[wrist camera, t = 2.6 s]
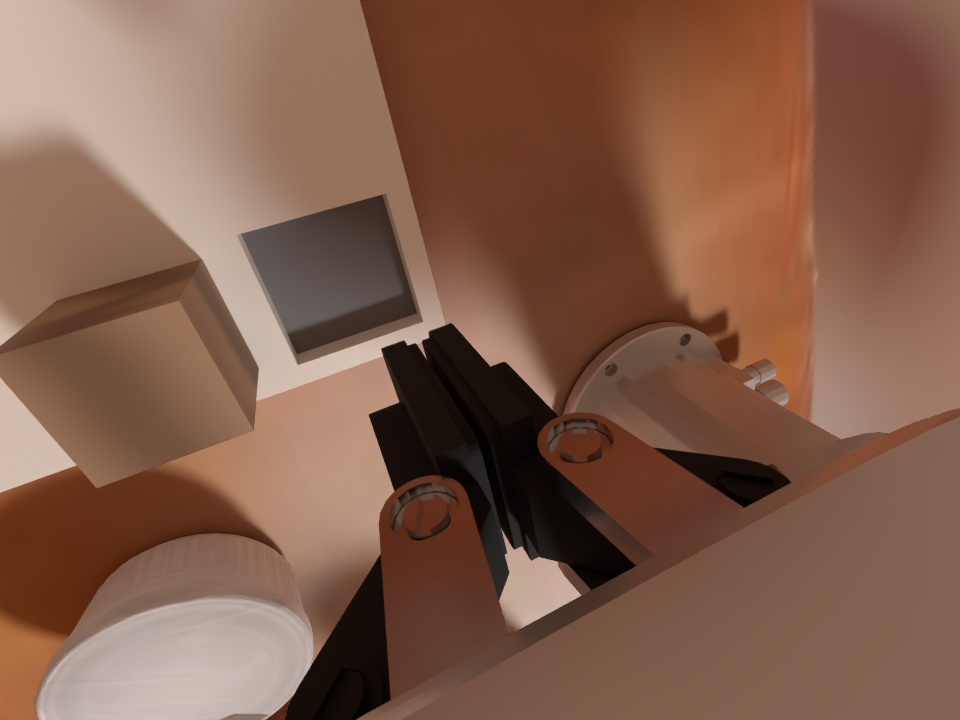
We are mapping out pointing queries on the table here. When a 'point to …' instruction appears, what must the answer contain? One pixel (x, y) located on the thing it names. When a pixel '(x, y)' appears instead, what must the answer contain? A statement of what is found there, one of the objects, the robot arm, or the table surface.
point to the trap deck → (206, 180)
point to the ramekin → (185, 638)
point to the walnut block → (135, 372)
